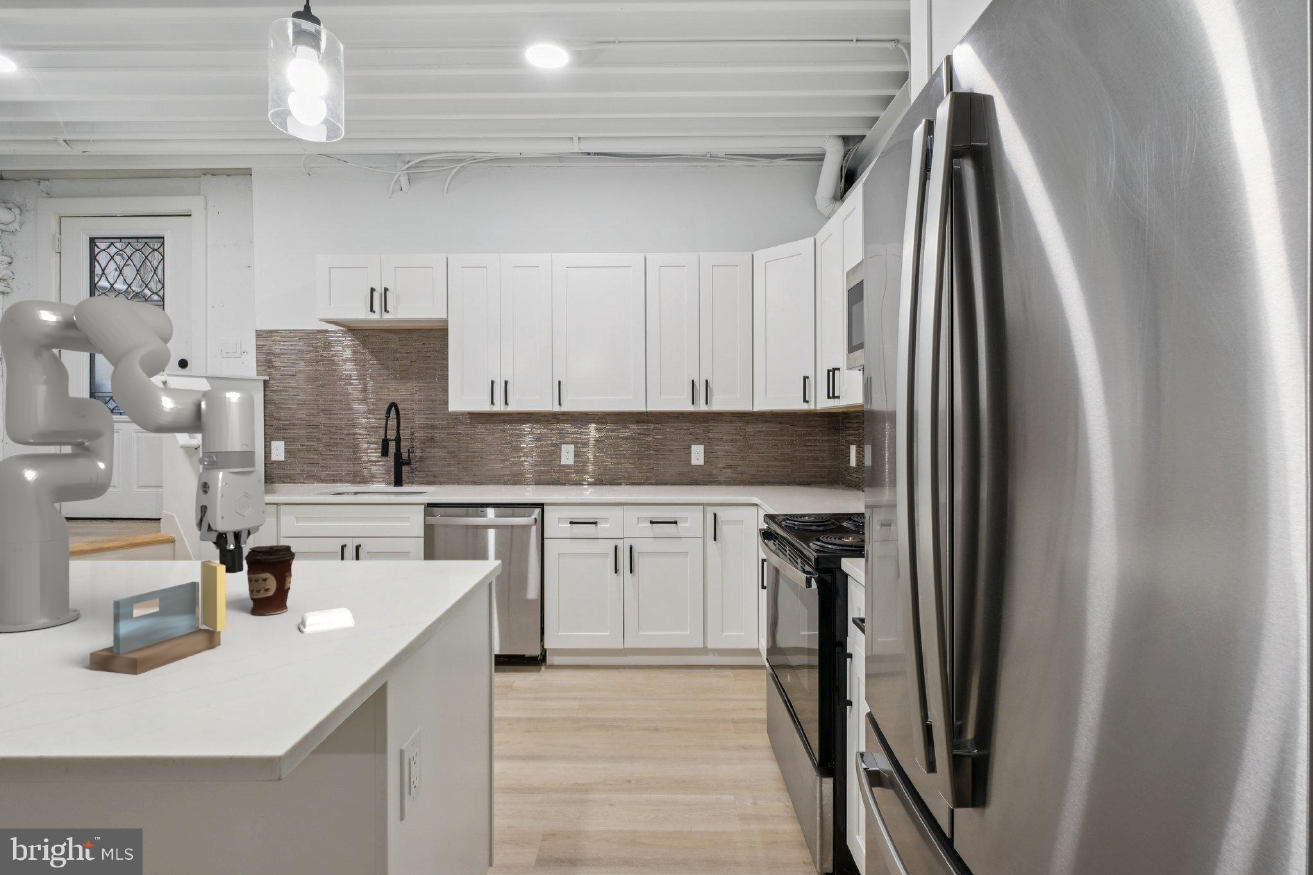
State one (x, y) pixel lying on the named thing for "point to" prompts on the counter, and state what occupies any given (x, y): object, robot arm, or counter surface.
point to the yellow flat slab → (213, 595)
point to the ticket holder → (155, 631)
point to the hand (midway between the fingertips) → (231, 571)
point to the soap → (326, 620)
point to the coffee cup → (269, 578)
